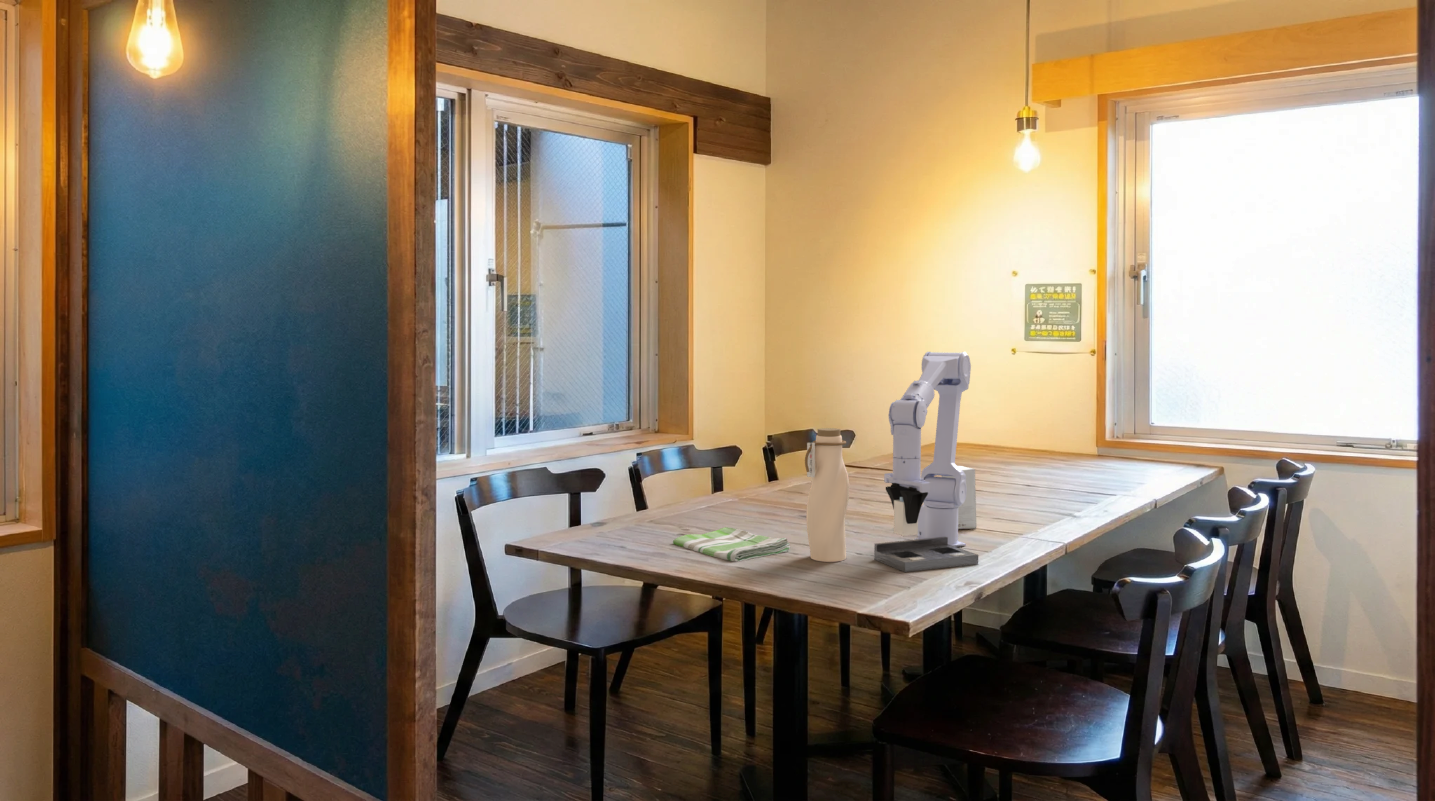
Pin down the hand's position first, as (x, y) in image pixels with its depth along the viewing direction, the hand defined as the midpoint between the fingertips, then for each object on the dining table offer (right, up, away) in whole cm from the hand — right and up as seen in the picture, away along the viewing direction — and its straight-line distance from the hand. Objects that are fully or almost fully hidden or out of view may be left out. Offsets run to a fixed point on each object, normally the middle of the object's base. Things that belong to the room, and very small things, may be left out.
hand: (906, 521), depth 210 cm
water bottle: (-16, -9, +6) cm, 19 cm away
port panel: (+5, -9, +2) cm, 10 cm away
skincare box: (+21, -6, +40) cm, 46 cm away
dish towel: (-37, -9, +17) cm, 41 cm away
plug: (0, -3, 0) cm, 3 cm away
